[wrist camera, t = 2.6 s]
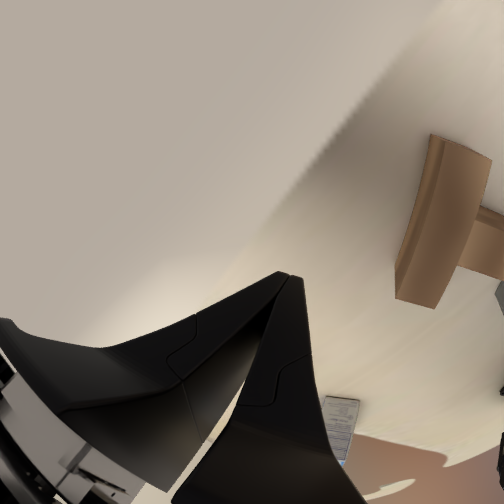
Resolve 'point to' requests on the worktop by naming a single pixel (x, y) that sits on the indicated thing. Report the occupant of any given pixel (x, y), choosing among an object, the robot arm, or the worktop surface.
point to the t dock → (500, 295)
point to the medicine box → (340, 424)
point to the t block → (449, 225)
